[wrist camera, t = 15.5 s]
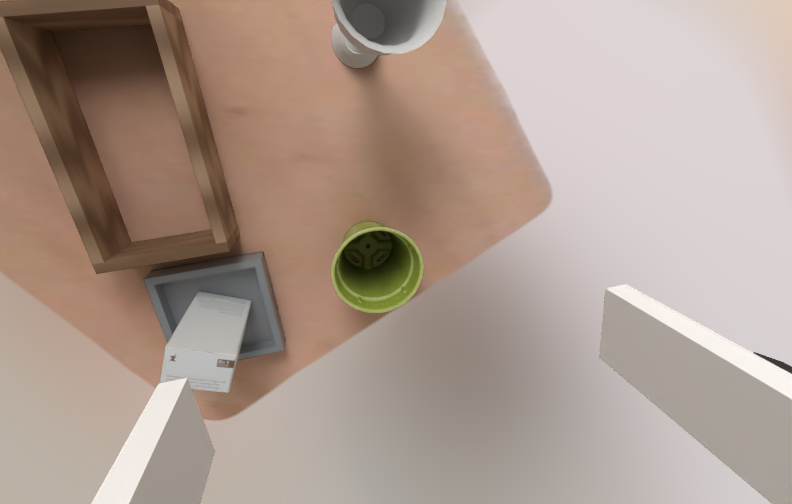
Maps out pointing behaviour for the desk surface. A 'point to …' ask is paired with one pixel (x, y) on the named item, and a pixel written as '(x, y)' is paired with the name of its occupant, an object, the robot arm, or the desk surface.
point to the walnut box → (70, 138)
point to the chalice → (382, 27)
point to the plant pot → (376, 268)
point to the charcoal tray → (224, 278)
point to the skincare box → (207, 342)
